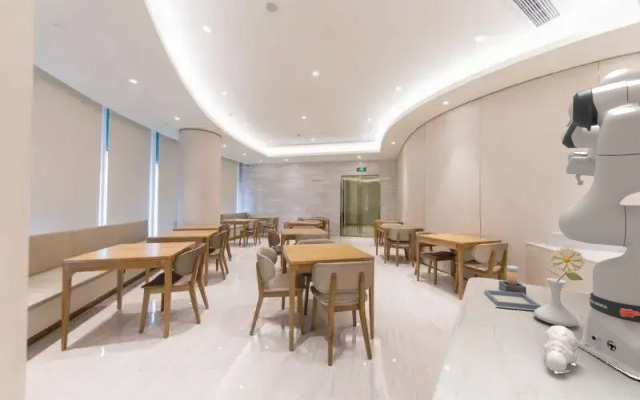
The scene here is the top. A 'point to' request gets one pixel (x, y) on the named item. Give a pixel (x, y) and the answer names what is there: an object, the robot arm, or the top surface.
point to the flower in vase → (554, 309)
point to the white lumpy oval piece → (560, 348)
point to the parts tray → (511, 304)
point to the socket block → (512, 287)
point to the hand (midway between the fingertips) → (594, 186)
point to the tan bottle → (512, 275)
